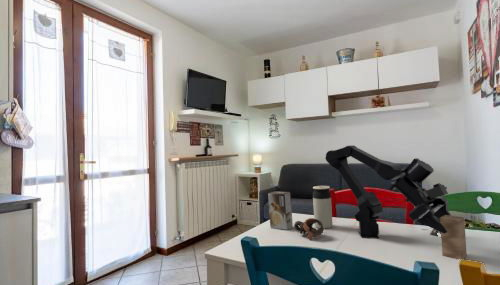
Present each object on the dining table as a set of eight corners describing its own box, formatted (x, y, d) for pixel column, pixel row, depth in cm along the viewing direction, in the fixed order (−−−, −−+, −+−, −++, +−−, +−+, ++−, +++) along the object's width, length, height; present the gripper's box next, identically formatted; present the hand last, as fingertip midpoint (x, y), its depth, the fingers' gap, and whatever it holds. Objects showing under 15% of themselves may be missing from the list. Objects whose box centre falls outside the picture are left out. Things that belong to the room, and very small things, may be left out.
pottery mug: (322, 233, 118) (326, 219, 114) (319, 250, 110) (323, 235, 106) (294, 225, 121) (297, 211, 117) (290, 241, 113) (292, 226, 109)
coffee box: (293, 226, 129) (291, 191, 129) (287, 230, 123) (285, 194, 124) (276, 224, 134) (274, 191, 134) (269, 227, 129) (267, 193, 129)
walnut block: (442, 255, 88) (439, 217, 88) (448, 251, 91) (445, 214, 91) (461, 260, 84) (458, 220, 84) (466, 255, 87) (464, 217, 87)
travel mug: (334, 228, 122) (332, 187, 123) (316, 229, 123) (314, 188, 123) (329, 223, 130) (327, 185, 131) (312, 224, 130) (310, 186, 131)
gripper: (416, 179, 87) (461, 220, 78) (439, 173, 98) (481, 209, 89) (393, 201, 93) (432, 242, 84) (417, 193, 105) (454, 228, 95)
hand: (451, 229), depth 88 cm, fingers open, 9 cm apart
